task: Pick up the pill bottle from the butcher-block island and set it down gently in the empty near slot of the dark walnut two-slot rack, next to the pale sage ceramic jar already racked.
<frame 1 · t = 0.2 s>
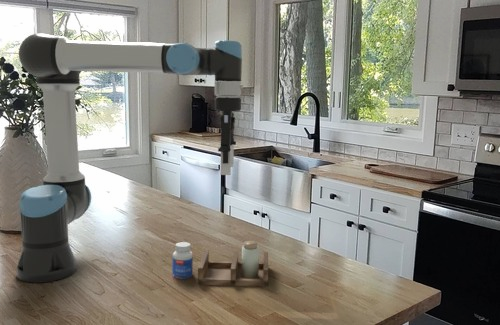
hand: (227, 170, 141), 27 cm above the kitchen island, fingers open, 13 cm apart
pill bottle: (182, 279, 131), on the kitchen island
jar: (250, 275, 131), point 1 cm above the kitchen island, touching rack
rack: (234, 279, 131), on the kitchen island
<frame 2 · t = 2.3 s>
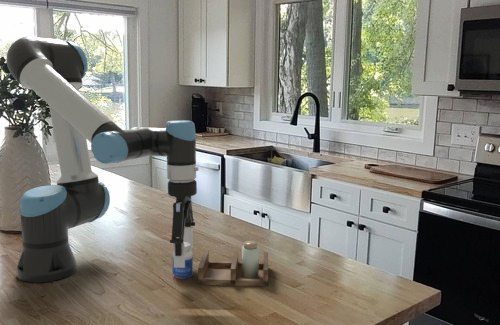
hand: (183, 257, 130), 6 cm above the kitchen island, fingers open, 13 cm apart
nothing on the kitchen island moved.
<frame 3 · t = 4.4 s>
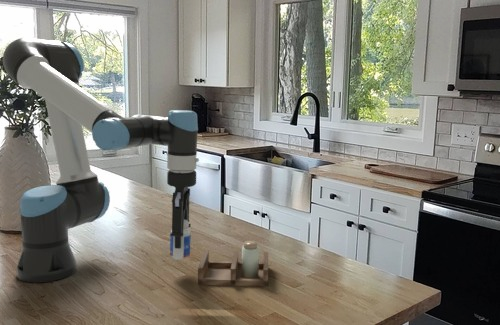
hand: (180, 254, 130), 7 cm above the kitchen island, fingers closed on pill bottle, 5 cm apart
pill bottle: (180, 256, 130), point 6 cm above the kitchen island, touching gripper
everything else where it was.
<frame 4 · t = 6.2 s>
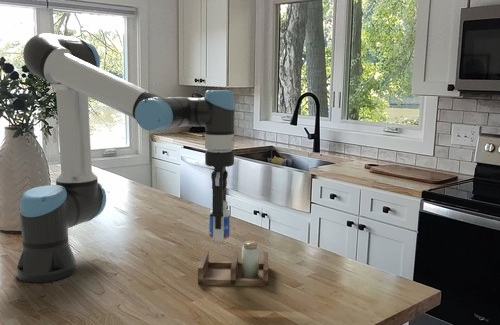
hand: (219, 236, 129), 12 cm above the kitchen island, fingers closed on pill bottle, 5 cm apart
pill bottle: (219, 238, 129), point 12 cm above the kitchen island, touching gripper
everything else where it was.
when the fingers open (3 cm above the kitchen island, at t = 8.0 s): pill bottle drops 1 cm, resting on rack.
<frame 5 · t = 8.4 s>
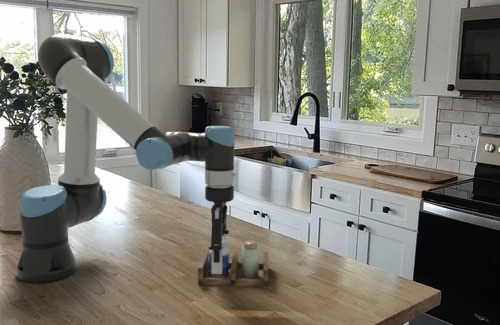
hand: (219, 265, 130), 4 cm above the kitchen island, fingers open, 11 cm apart
pill bottle: (218, 275, 131), point 1 cm above the kitchen island, touching rack
everything else where it was.
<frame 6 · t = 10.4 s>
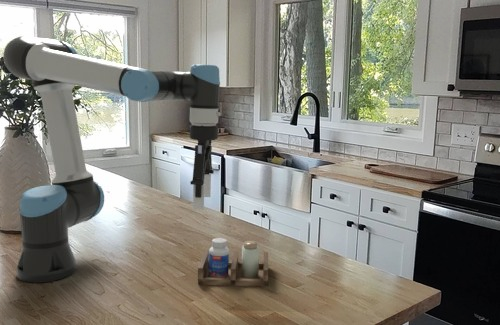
hand: (202, 202, 131), 20 cm above the kitchen island, fingers open, 13 cm apart
nothing on the kitchen island moved.
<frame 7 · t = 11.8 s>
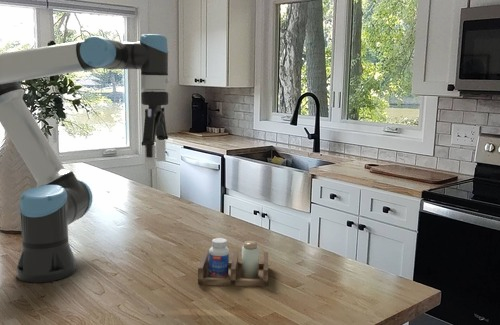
hand: (155, 165, 140), 29 cm above the kitchen island, fingers open, 13 cm apart
nothing on the kitchen island moved.
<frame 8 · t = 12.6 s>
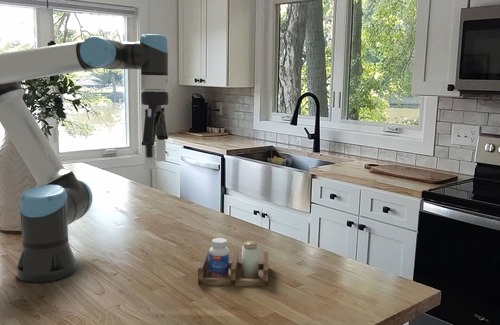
hand: (155, 164, 140), 29 cm above the kitchen island, fingers open, 13 cm apart
nothing on the kitchen island moved.
at the end: pill bottle inside the target area on the rack (0.0 cm from its centre), point 1.0 cm above the rack's base; pill bottle tilted 0°; the gripper is holding nothing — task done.
